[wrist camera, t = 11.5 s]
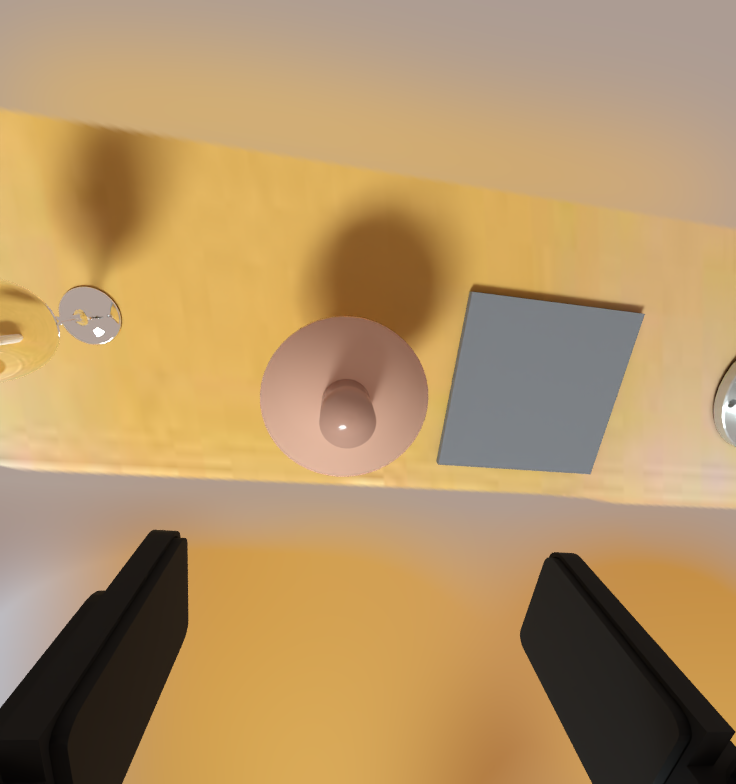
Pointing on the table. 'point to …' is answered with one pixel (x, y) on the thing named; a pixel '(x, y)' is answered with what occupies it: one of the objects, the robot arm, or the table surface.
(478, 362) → the mat
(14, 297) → the wineglass
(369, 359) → the lid
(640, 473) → the table surface
